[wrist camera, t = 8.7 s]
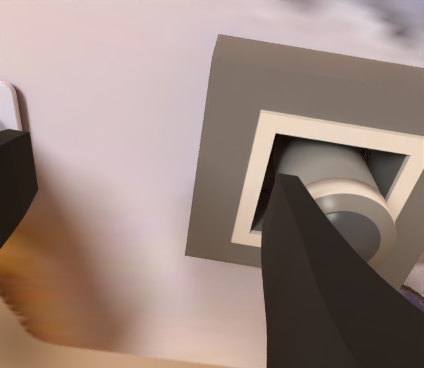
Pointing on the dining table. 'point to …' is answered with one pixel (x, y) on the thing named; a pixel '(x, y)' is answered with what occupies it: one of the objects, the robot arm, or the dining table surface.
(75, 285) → the dining table surface
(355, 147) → the lens
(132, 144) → the dining table surface
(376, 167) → the grey frame block
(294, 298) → the robot arm
